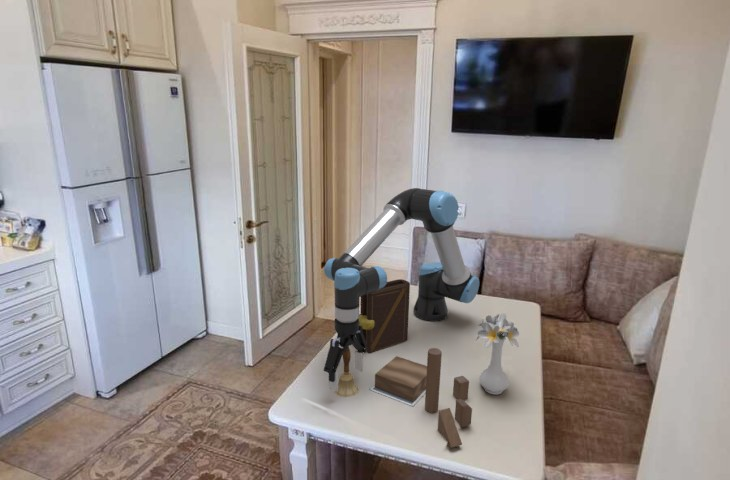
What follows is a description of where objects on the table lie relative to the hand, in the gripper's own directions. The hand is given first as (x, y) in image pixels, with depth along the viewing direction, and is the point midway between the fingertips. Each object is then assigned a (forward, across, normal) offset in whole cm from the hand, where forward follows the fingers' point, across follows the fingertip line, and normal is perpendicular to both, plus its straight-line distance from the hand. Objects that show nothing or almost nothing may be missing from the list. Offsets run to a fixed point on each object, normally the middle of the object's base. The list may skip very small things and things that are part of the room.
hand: (346, 379), depth 143 cm
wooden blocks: (+4, -7, +35) cm, 36 cm away
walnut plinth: (+4, -13, +14) cm, 20 cm away
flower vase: (+4, -28, +38) cm, 48 cm away
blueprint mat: (+4, -13, +14) cm, 20 cm away
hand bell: (+4, 0, 0) cm, 4 cm away
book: (+4, -32, -6) cm, 33 cm away
